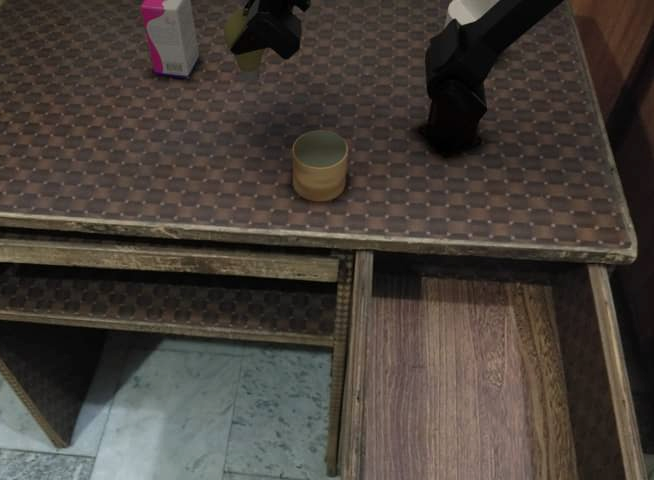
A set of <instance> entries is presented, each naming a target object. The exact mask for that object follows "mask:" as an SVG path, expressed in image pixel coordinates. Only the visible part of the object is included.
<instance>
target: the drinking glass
mask: <svg viewBox="0 0 654 480" xmlns="http://www.w3.org/2000/svg"><path fill="white" fill-rule="evenodd" d="M498 1H499V0H452V1H451V2H450V3H449V4H448V7H447V11H446V16H445V17H446V18H445V22H444V26H443V30H444V29H445V27H446V26H447V25H448V24H449V22H450V21H451V20H453V19H457V21H458V22H459V23H460V24H461V25H464V24H467V23H471V22H474V21H476V20H478V19H479V18H480V17H482V16H483V15H484V14H485V13H486V12H487V11H488V10H489V9H490V8H491V7H493V6H494V5H495V4H496V3H497V2H498Z"/></svg>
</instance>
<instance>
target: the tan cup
mask: <svg viewBox="0 0 654 480" xmlns="http://www.w3.org/2000/svg"><path fill="white" fill-rule="evenodd" d="M291 149H292V185H293V189H294V190H295V192H296V194H298V195H299V196H300V197H301V198H303V199H305V200H308V201H310V202H327V201H331V200H333V199H335V198H337V197H339V196H340V195H341V194H342V193H343V191H344V190H345V188H346V182H347V181H346V180H347V171H348V170H347V168H348V157H349V156H348V155H349V146H348V143H347V142H346V140H345V139H344V138H343V137H342V136H341V135H340V134H337V133H336V132H333V131H330V130H324V129H323V130H312V131H308V132H305V133H303V134H302V135H300V136H299V137H298V138H296V140H295V141H294V143H293V145H292V148H291Z"/></svg>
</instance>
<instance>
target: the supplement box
mask: <svg viewBox="0 0 654 480" xmlns="http://www.w3.org/2000/svg"><path fill="white" fill-rule="evenodd" d="M191 3H192V1H191V0H144V1H143V2H142V3H141V5H140V11H141V16H142V20H143V24H144V30H145V33H146V34H145V35H146V38H147V43H148V46H149V52H150V56H151V61H152V66H153V70H154V74H155V76H161V77H169V78H177V79H187V80H188V79H189V78H190V77H191V75H192V73H193V71H194V69H195V67H196V66H197V63H198V61H199V60H200V53H199V52H200V51H199V46H198V39H197V34H196V27H195V22H194V21H195V20H194V15H193V9H192V4H191Z"/></svg>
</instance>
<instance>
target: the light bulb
mask: <svg viewBox="0 0 654 480" xmlns="http://www.w3.org/2000/svg"><path fill="white" fill-rule="evenodd" d="M247 11H248V9H246V8H245V9H243V8H241V9H238V10H235V11H234V12H233V13H231V15H229V17H228V18H227V20H226V22H225V24H224V29H223V37H224V42H225V44H226V47H227V48H228V51H230V48H231V46H232V45H233V43H234V42H235V40H236V38H237V37H238V35H239V34H240V33H241V31H242V30H243V28H244V27H245V25H246V23H247ZM265 51H266V48H265V49H260V50H256V51H252V52H248V53H244V54H240V55H235V54H234V53H232V52H231V51H230V53H231V54H232V56H233V57H234V59H235V61H236V64H237V66H238V68H239V70H240V78H241V81H242V82H243V83H245V84H247V85H253V84H256V82H258V81H259V80H260V76H261V75H260V66H261V63H262V59H263V55H264V52H265Z"/></svg>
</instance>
